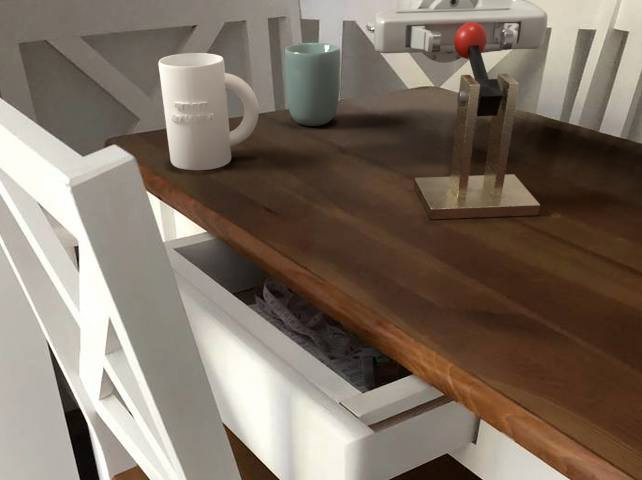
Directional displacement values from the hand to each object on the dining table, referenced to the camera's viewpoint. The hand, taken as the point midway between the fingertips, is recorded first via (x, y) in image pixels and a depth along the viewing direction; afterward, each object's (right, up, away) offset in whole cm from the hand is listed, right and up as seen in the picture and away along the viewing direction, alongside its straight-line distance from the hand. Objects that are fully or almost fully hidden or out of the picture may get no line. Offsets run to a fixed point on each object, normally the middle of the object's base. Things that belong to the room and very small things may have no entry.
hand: (472, 42), depth 82 cm
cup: (-17, +4, +29) cm, 34 cm away
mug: (-30, -7, +16) cm, 35 cm away
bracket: (+1, -17, +3) cm, 17 cm away
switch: (0, -5, 0) cm, 4 cm away
